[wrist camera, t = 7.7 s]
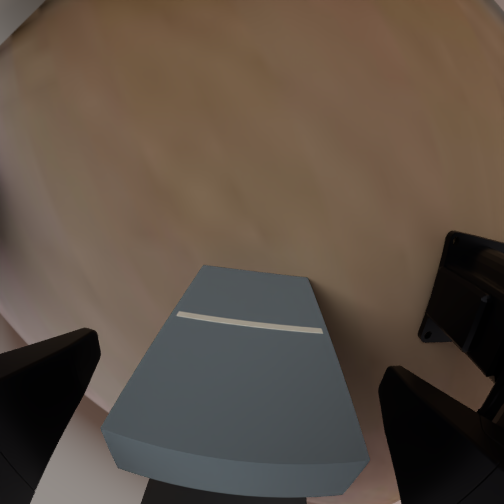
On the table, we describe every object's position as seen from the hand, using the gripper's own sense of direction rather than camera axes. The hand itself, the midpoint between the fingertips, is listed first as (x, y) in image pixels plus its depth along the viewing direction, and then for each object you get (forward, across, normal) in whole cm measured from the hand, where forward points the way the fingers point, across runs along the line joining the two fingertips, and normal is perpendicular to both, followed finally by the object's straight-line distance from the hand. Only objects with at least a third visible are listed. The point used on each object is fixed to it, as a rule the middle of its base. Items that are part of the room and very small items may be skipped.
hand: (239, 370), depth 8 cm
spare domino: (+6, 0, 0) cm, 6 cm away
